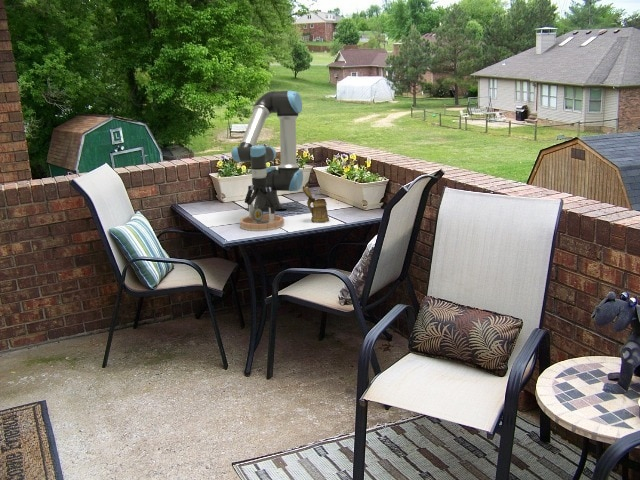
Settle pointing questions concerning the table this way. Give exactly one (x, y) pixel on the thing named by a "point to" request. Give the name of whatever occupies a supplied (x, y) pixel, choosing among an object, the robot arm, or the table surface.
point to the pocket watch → (258, 216)
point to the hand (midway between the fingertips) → (261, 218)
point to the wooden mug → (317, 208)
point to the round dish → (251, 224)
